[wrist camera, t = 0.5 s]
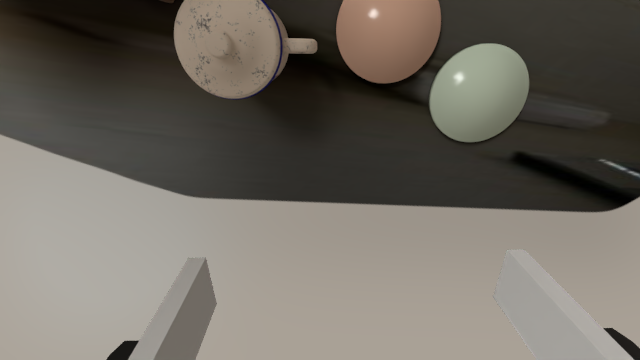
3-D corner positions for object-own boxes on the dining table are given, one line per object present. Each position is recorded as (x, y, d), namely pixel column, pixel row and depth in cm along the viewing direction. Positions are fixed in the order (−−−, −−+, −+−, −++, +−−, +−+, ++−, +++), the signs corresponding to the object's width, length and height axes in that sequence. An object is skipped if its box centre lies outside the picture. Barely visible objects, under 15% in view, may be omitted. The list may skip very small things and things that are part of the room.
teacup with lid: (214, 87, 35) (167, 104, 24) (203, -3, 31) (142, -30, 21) (317, 89, 35) (315, 107, 24) (318, -2, 31) (316, -26, 21)
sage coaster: (410, 87, 35) (412, 88, 34) (499, 20, 32) (503, 19, 31) (456, 157, 38) (459, 159, 38) (540, 102, 35) (544, 103, 35)
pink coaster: (315, 20, 32) (315, 20, 31) (402, -59, 29) (404, -62, 29) (373, 102, 36) (374, 103, 35) (457, 37, 33) (460, 37, 32)
